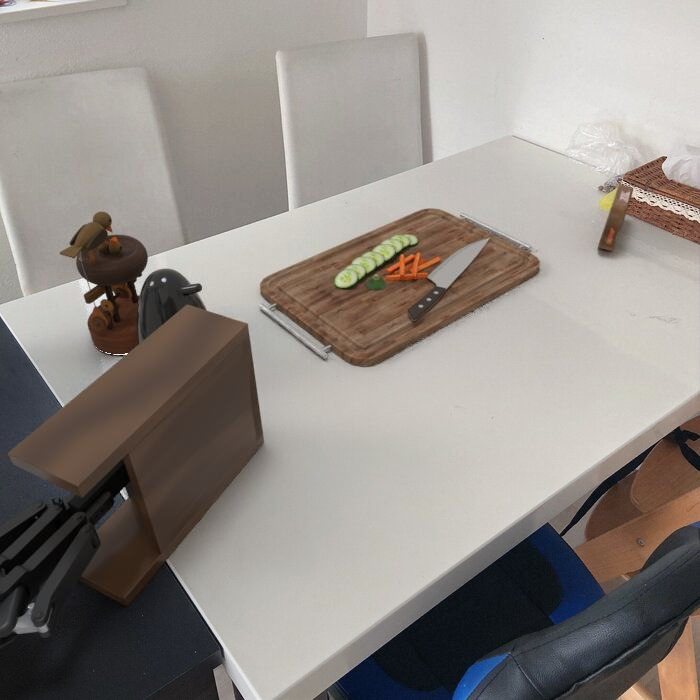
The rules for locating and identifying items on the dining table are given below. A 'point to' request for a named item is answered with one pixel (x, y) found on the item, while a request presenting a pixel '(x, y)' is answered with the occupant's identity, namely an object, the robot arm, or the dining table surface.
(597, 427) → the dining table surface
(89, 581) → the cabinet frame
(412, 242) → the chopping board
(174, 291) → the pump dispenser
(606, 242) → the tin
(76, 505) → the robot arm
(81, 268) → the music box
